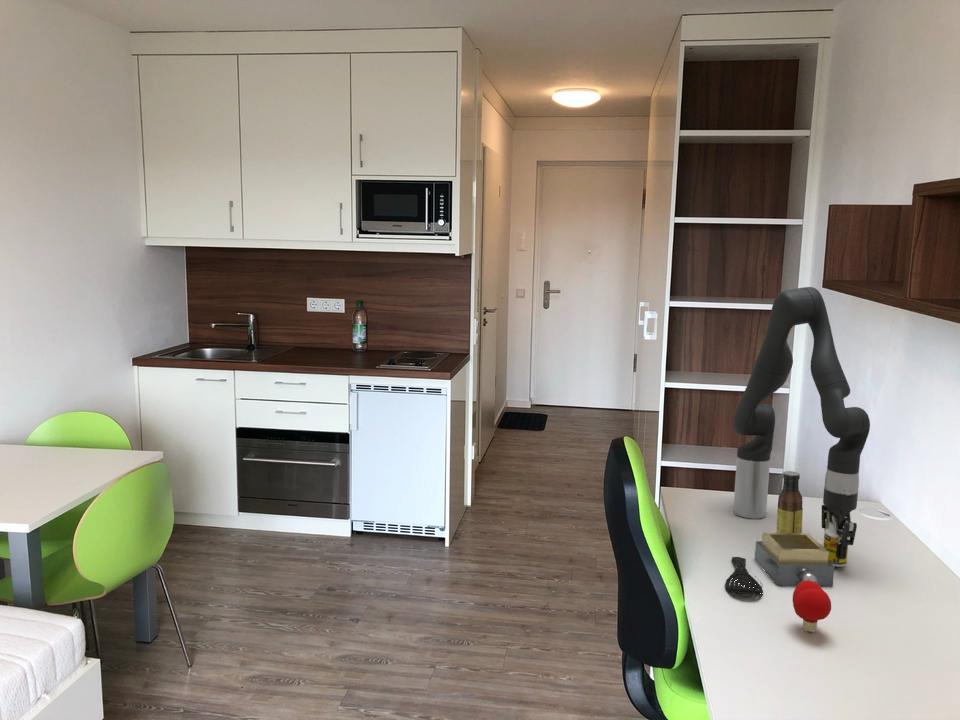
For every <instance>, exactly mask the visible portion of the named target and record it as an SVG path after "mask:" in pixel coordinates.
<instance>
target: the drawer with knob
mask: <svg viewBox="0 0 960 720" xmlns="http://www.w3.org/2000/svg"><path fill="white" fill-rule="evenodd" d="M761 534H762V535H761V541H760V540H759V541H757V540H756V541H755V547H754V548H755V549H754V550H755V551H754V562H756V564H757V565H758V564H759V565H760V566H761V567H762V568H763V569H764V570H765V572H766V573H767V574H768V575H769V576H770V577H769V576H768V575H767V574H766V573H765V572H764V573H765V574H766V575H767V576H768V577H769V579H770V578H771V579H772V580H773V581H774V582H773V581H772V580H771V579H770V580H771V581H772V582H773V583H774V584H775V586H776V585H777V586H776V587H796V586H797V585H798V584H799V583H800V582H802V581H813V582H815V583H817V584H818V585H819V586H820V587H821V588H833V587H834V580H835V579H834V577H835V567H836V566H833V565H832V564H831V563H830V562H829V561H828V554H829V551H828V550H827V549H826V548H824V547H823V544H821V543H820V542H819V541H818V540H817V539H815V538H814V537H813V536H812V535H811V534H810V533H808V532H806V533H805V532H802V533H777V532H762V533H761ZM759 565H758V566H759ZM760 566H759V567H760ZM761 567H760V568H761ZM762 568H761V569H762ZM763 569H762V570H763ZM764 570H763V571H764Z"/></svg>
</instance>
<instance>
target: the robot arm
mask: <svg viewBox="0 0 960 720" xmlns="http://www.w3.org/2000/svg"><path fill="white" fill-rule="evenodd" d="M774 298H775V299H774V300H773V302H772V307H771V310H770V315H769V319H768V322H767V327H766V331H765V335H764V337H763V341H762V344H761V347H760V350H759V352H758V354H757V357H756V359H755V362H754V365H753V368H752V370H751V374H750V377H749V379H748V382H747V383H746V387H745V389H744V391H743V393H742V395H741V397H740V399H739V401H738V403H737V405H736V408H735V410H734V413H733V416H732V417H733V418H732V427H733V429H734V431H735V432H736V433H737V434H738V435H741V436H754V438H753V439H752V440H750V441H748V442H746V443H744V444H740V445H739V446H738V447H737V451H736V463H735V465H736V466H735V468H736V469H735V481H734V495H733V510H732V511H733V514H735V515H736V516H739V517H742V518H746V519H755V520H756V519H763V518H766V516H767V506H768V494H769V493H768V490H769V481H770V480H769V479H770V466H771V465H770V464H771V453H772V450H773V443H774V435H775V426H776V413H775V409H774V408H773V406H772V405H770V404H767V403H762V402H763V401H764V400H766V399H767V398H769V397H770V396H771V395H773V394H774V393H776V392H777V391H778V390H780V388H781V387H783V385H784V384H785V383H786V382H787V379H788V377H789V375H790V373H791V369H792V367H793V365H794V357H793V354H792V351H791V348H790V346H789V344H788V338H789V334H790V332H791V330H792V328H793V327H794V326H799V325H804V324H805V325H806V324H808V326H809V328H810V330H811V332H812V333H811V334H812V337H813V338H812V339H813V346H812V347H813V348H812V352H811V358H810V374H811V376H812V379H813V381H814V385H815V387H816V391H817V392H818V394H819V397H820V399H819V400H820V408H821V416H822V423H823V427H824V428H825V429H826V431H827V433H828V434H829V435H830V436H831V437H834V438H836V439H839V440H838V442H836V443H835V444H833V445H831V446H830V448H829V450H828V454H827V465H826V473H825V476H824V486H823V498H822V499H823V501H822V505H821V528H822V529H824V532H825V530H826V529H827V528H829V522H830V521H831V522H832V523H833V524H834V533H835V534H836V535H837V543H838V544H837V550H836V557H837V558H838V559H846V555H847V545H848V546H854V542H855V539H856V538H855V537H856V533H857V532H856V531H857V528H858V526H857V525H858V524H857V522H852V521H851V512H852V511H854V510H857V508H858V507H857V506H858V497H859V487H860V486H859V484H860V475H859V474H860V462H861V455H862V452H863V450H864V448H865V445H866V442H867V440H868V437H869V434H870V429H871V421H870V417H869V415H868V413H867V412H866V410H864V408H861V407H858V406H850V407H846V406H845V401H844V399H845V398H847V397H848V396H849V395H850V394H851V388H850V385H849V382H848V380H847V378H846V375H845V372H844V370H843V368H842V365H841V362H840V360H839V358H838V354H837V351H836V346H835V341H834V337H833V333H832V328H831V324H830V319H829V316H828V312H827V307H826V303H825V301H824V298H823V296H822V293H821V292H820V291H819V290H818V289H817V288H816V287H813V286H805V287H798V288H791V289H786V290H783V291H781V292H778V294H777V295H776V296H775V297H774ZM838 529H839V530H843V531H839V530H838ZM841 535H842V539H841ZM847 556H848V555H847Z"/></svg>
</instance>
